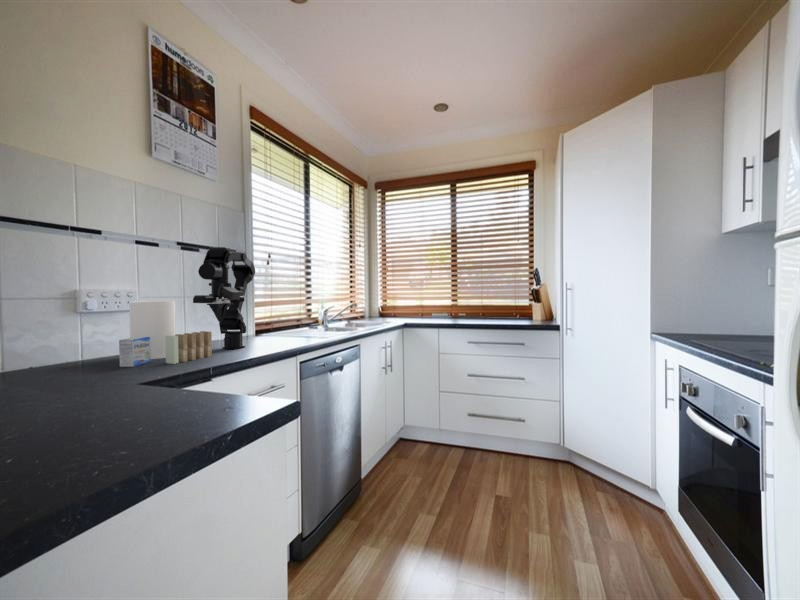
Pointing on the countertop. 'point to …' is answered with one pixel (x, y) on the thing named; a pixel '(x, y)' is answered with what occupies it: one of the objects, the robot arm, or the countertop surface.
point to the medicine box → (134, 351)
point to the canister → (153, 323)
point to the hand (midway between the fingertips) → (220, 321)
